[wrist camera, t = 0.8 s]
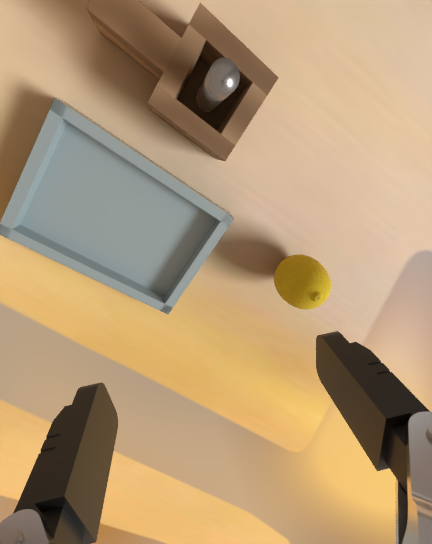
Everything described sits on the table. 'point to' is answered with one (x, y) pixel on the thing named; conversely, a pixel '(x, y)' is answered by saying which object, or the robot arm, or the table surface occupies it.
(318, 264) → the lemon
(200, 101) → the peg
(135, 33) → the collar
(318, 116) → the table surface
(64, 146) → the tray
